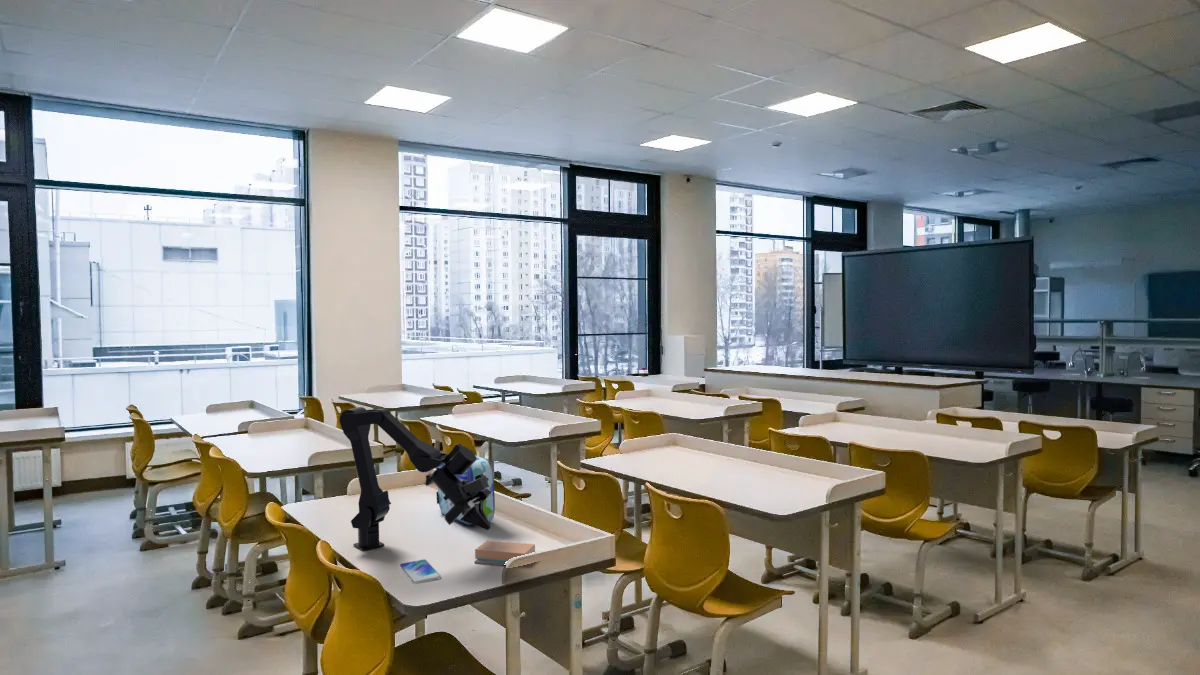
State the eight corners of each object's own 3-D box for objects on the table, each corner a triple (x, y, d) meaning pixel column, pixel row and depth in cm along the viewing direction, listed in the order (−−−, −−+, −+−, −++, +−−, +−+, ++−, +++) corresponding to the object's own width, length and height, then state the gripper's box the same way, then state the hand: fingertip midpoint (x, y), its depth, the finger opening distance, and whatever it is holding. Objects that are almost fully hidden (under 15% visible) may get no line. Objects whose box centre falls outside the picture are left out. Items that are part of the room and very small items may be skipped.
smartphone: (413, 582, 180) (398, 564, 193) (413, 586, 180) (398, 567, 193) (442, 576, 184) (425, 558, 197) (442, 580, 184) (425, 561, 197)
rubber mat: (474, 563, 195) (474, 561, 195) (492, 548, 206) (492, 547, 206) (510, 566, 192) (510, 564, 192) (526, 551, 204) (526, 549, 204)
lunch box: (433, 511, 245) (432, 449, 244) (463, 506, 251) (462, 445, 250) (466, 531, 223) (465, 462, 222) (498, 524, 229) (497, 458, 228)
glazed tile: (475, 549, 197) (524, 553, 193) (487, 540, 204) (535, 544, 201) (475, 558, 197) (524, 563, 193) (487, 549, 204) (535, 553, 201)
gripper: (455, 474, 191) (495, 518, 189) (484, 459, 209) (521, 500, 207) (427, 502, 194) (467, 547, 191) (459, 485, 212) (495, 526, 209)
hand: (489, 528), depth 200 cm, fingers closed
